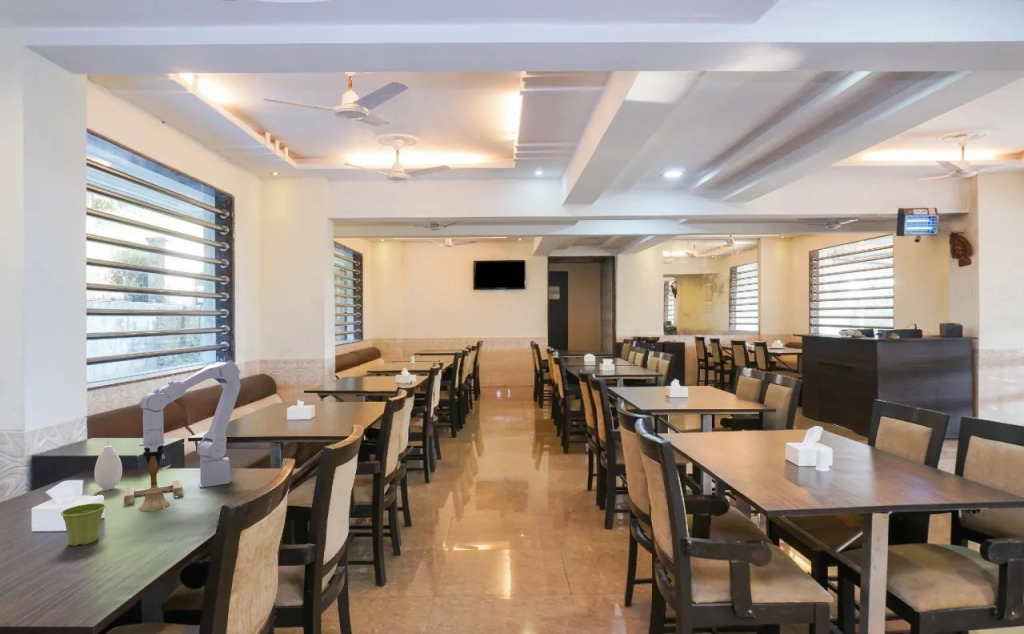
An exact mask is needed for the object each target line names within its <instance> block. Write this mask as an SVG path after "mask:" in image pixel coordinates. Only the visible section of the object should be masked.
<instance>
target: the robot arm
mask: <svg viewBox="0 0 1024 634" xmlns="http://www.w3.org/2000/svg"><path fill="white" fill-rule="evenodd" d="M240 374H241V370H240V368H239V367H238V365H237V364H236V363H234V362H231V361H230V362H221V361H216V362H213V363H212V364H209V365H207V366H205V367H204V368H202V369H200V370H198V371H196V372H195V373H194V374H191V375H190V376H188V377H187V378H184V379H183V380H181V381H179V380H170V381H168V382H167V384H166V385H164V386H162V387H160V388H155V389H154V390H153V391H154V392H149V393H147V394H144V395H143V396H142V397H141V400H140V401H139V407H140V408H141V409H142V433H143V435H142V442H140V443H139V444H138V447H143V450H144V451H143V456H144V457H145V460H146V462H147V466H148V465H149V461H150V458H151V457H152V456H155V457H156V460H157V462H158V470H159V469H160V462H161V459H162V456H163V454H164V451H165V450H164V449H163V448H164V445H165V440H164V439H165V437H164V436H165V435H164V433H165V432H164V408H166V406H167V405H168V404H170V403H171V402H173V401H175V400H177V399H179V398H181V397H182V396H184V395H185V394H186V392H187V390H188V389H190V388H192V387H194V386H196V385H198V384H200V383H203V382H205V381H207V380H211V379H213V380H215V381H216V382H217V383H219V385H220V387H221V388H222V393H221V395H220V398H219V401H218V403H217V407H216V409H215V412H214V415H213V417H212V421H211V424H210V426H209V429H208V431H207V432H206V433H205V434H204V435H202V440H200V442H199V443H198V444H197V446H196V453H197V455H198V456H199V457H200V459H199V461H200V462H199V470H200V471H199V472H200V474H199V476H200V481H198V486H199V488H208V487H215V486H220V485H227V484H231V480H230V479H231V471H230V469H231V468H230V465H231V464H230V458H229V457H228V456H227V457H224V456H225V455H226V452H227V440H228V439H227V436H226V431H227V428H228V425H229V423H230V420H231V417H232V414H233V410H234V408H235V405H236V402H237V399H238V396H239V392H240V390H241V379H240Z"/></svg>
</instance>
